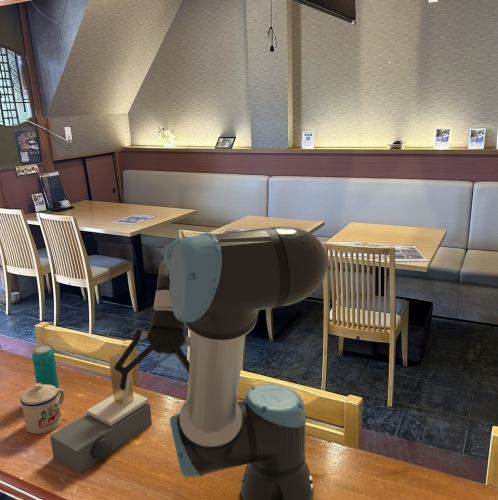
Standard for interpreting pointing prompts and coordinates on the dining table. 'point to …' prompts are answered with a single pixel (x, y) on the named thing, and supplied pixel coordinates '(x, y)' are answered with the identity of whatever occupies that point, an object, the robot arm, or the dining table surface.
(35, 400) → the teacup with lid
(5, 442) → the dining table surface
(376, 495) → the dining table surface
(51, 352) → the beverage can
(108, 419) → the sliding cover
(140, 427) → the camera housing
